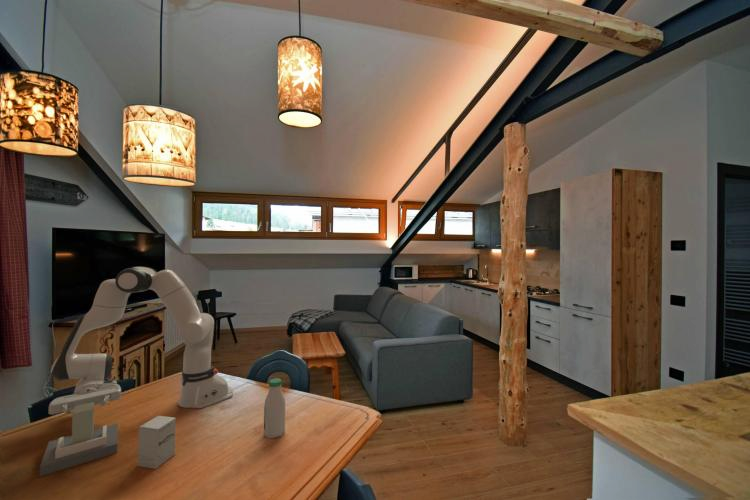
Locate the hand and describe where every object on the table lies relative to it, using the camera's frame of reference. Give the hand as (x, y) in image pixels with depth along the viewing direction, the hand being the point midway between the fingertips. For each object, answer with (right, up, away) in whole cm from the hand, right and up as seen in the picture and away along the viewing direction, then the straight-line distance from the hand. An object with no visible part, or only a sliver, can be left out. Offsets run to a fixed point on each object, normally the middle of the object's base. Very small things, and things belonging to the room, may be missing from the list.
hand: (85, 407), depth 113 cm
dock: (+6, -11, -8) cm, 15 cm away
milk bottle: (+68, -12, +5) cm, 69 cm away
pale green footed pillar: (+7, -8, -8) cm, 13 cm away
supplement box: (+34, -12, -12) cm, 38 cm away
